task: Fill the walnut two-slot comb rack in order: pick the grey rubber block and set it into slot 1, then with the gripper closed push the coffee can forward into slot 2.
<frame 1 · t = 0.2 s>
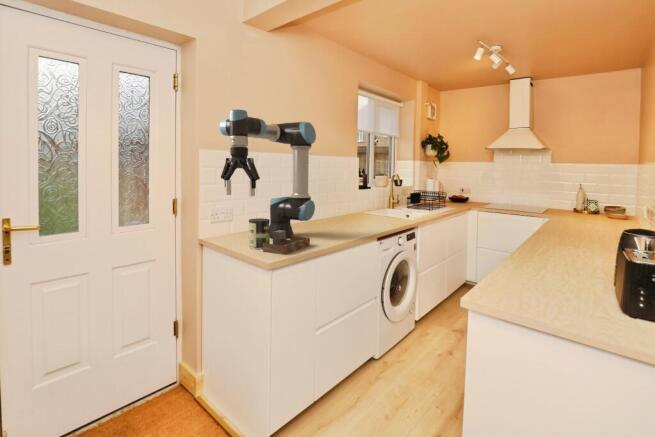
hand: (240, 195, 161), 28 cm above the worktop, fingers open, 13 cm apart
comb rack: (286, 248, 182), on the worktop
grey block: (279, 244, 192), on the worktop
coffee can: (259, 247, 185), on the worktop
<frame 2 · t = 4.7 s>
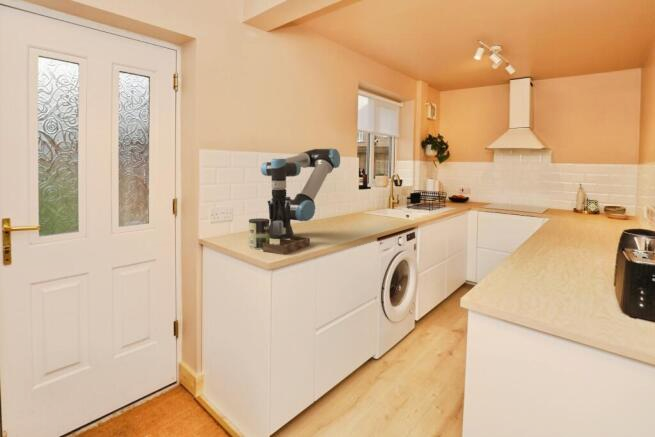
hand: (280, 233, 192), 6 cm above the worktop, fingers closed on grey block, 4 cm apart
grey block: (279, 234, 191), point 5 cm above the worktop, touching gripper
everything else where it was.
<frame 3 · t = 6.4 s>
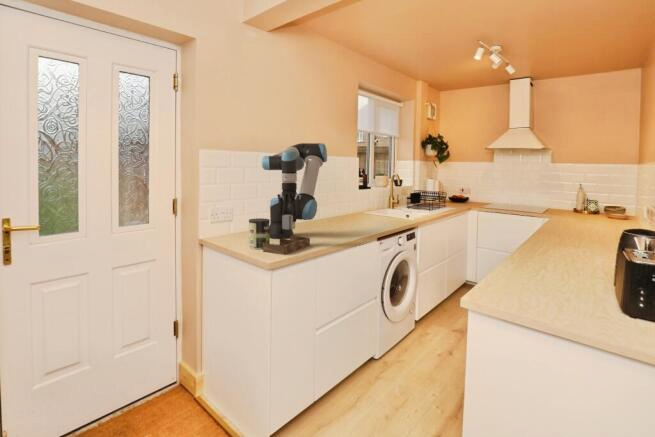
hand: (289, 227, 188), 9 cm above the worktop, fingers closed on grey block, 4 cm apart
grey block: (288, 228, 188), point 9 cm above the worktop, touching gripper
everything else where it was.
when the fingers open (0 cm above the worktop, at t = 8.0 s): grey block stays where it is, on the worktop.
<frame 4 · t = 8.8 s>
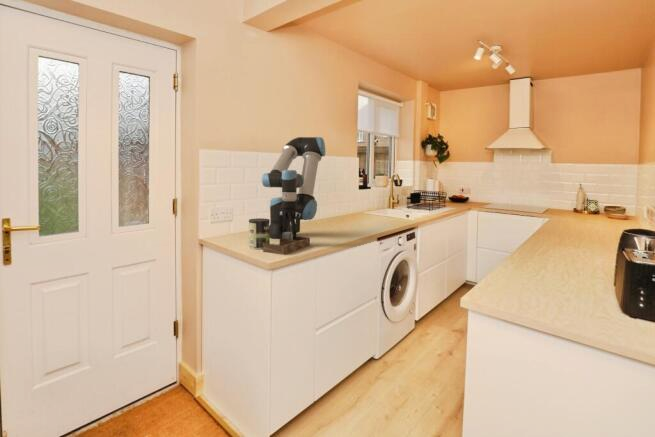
hand: (289, 245, 189), 0 cm above the worktop, fingers open, 4 cm apart
grey block: (288, 245, 189), on the worktop
everything else where it was.
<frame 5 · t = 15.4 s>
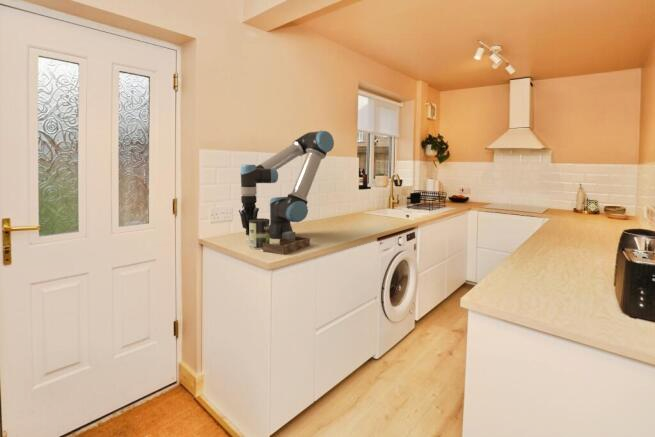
hand: (249, 241, 187), 2 cm above the worktop, fingers closed
coffee can: (259, 247, 185), on the worktop, touching gripper
everything else where it was.
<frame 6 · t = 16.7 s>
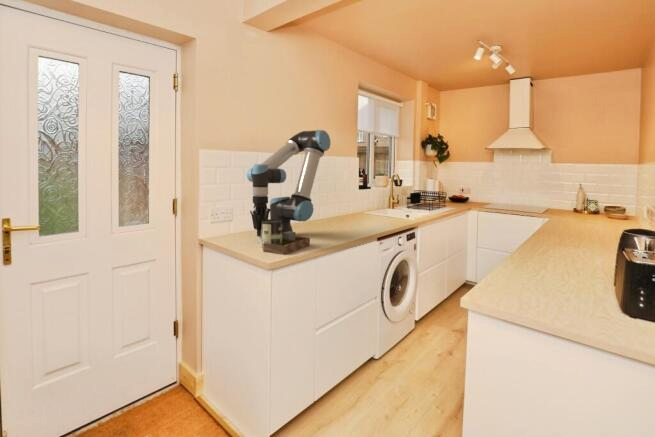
hand: (260, 242, 184), 3 cm above the worktop, fingers closed
coffee can: (272, 248, 182), on the worktop, touching gripper
everything else where it was.
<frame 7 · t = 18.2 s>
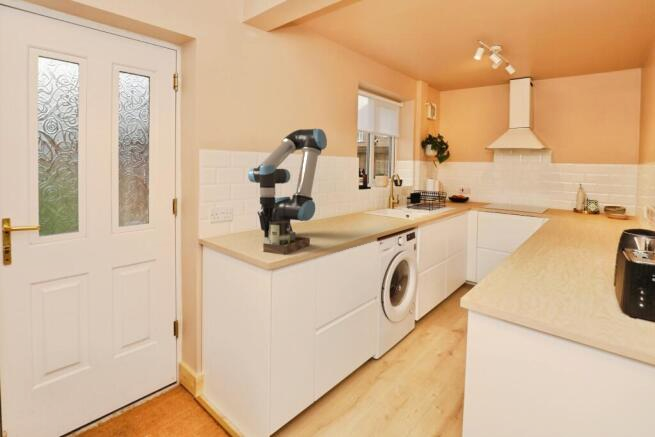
hand: (267, 243, 182), 2 cm above the worktop, fingers closed
coffee can: (279, 249, 180), on the worktop, touching gripper
everything else where it was.
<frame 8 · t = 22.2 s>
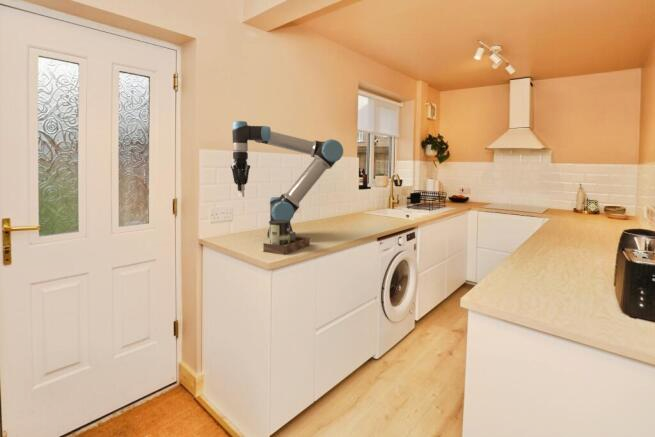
hand: (241, 196, 193), 24 cm above the worktop, fingers closed
coffee can: (279, 249, 180), on the worktop
everything else where it was.
at the end: coffee can inside the target area (1.7 cm from its centre), on the worktop; coffee can tilted 0°; grey block inside the target area (2.9 cm from its centre), on the worktop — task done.
